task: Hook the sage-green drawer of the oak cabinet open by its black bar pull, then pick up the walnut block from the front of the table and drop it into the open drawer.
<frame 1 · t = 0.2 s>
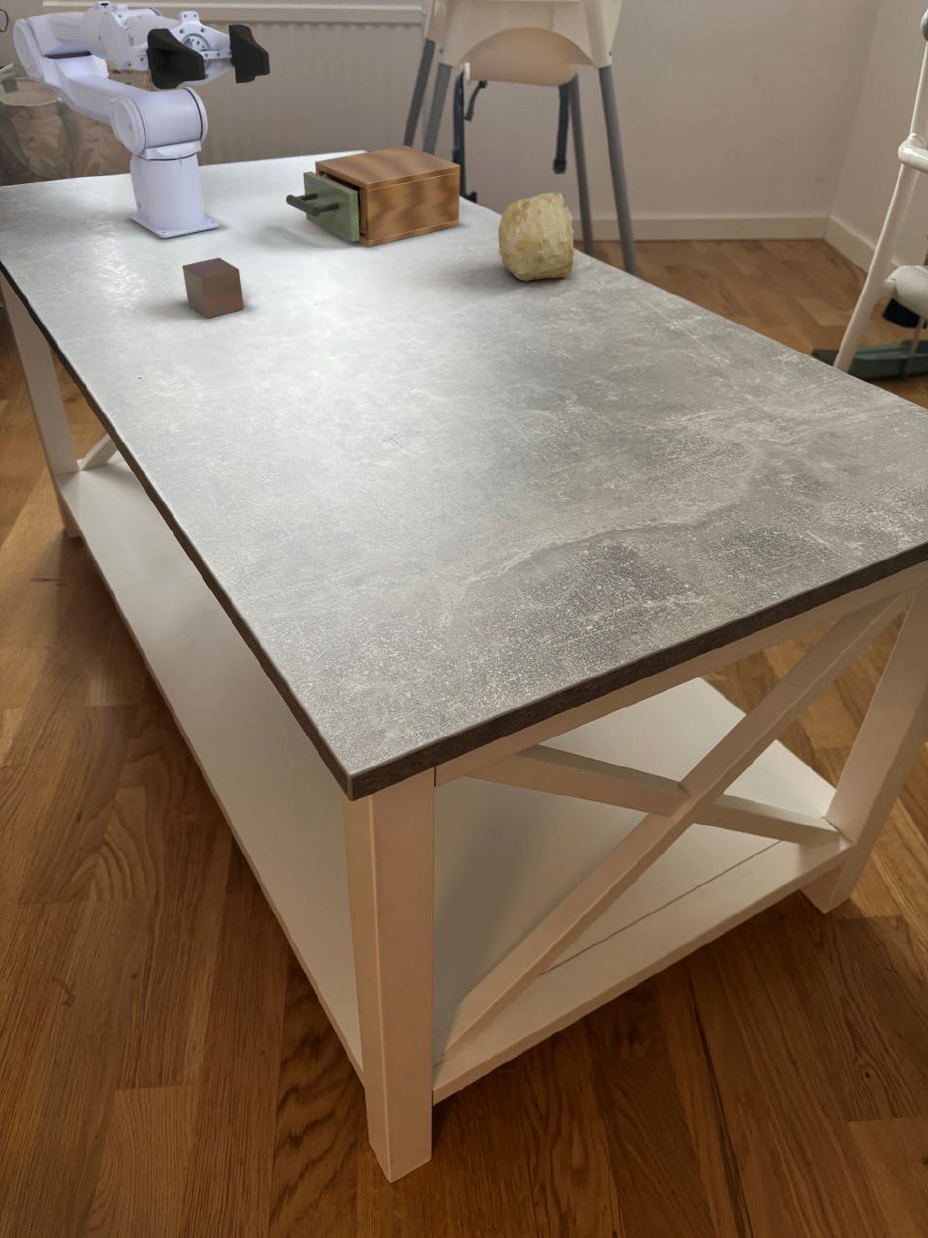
hand: (234, 65, 100), 21 cm above the table, tool horizontal, fingers open, 7 cm apart
drawer: (358, 200, 123), point 4 cm above the table, slide at 1.0 cm
cabinet: (389, 224, 128), on the table
beige lumpy stone: (532, 277, 115), on the table
block: (216, 307, 105), on the table
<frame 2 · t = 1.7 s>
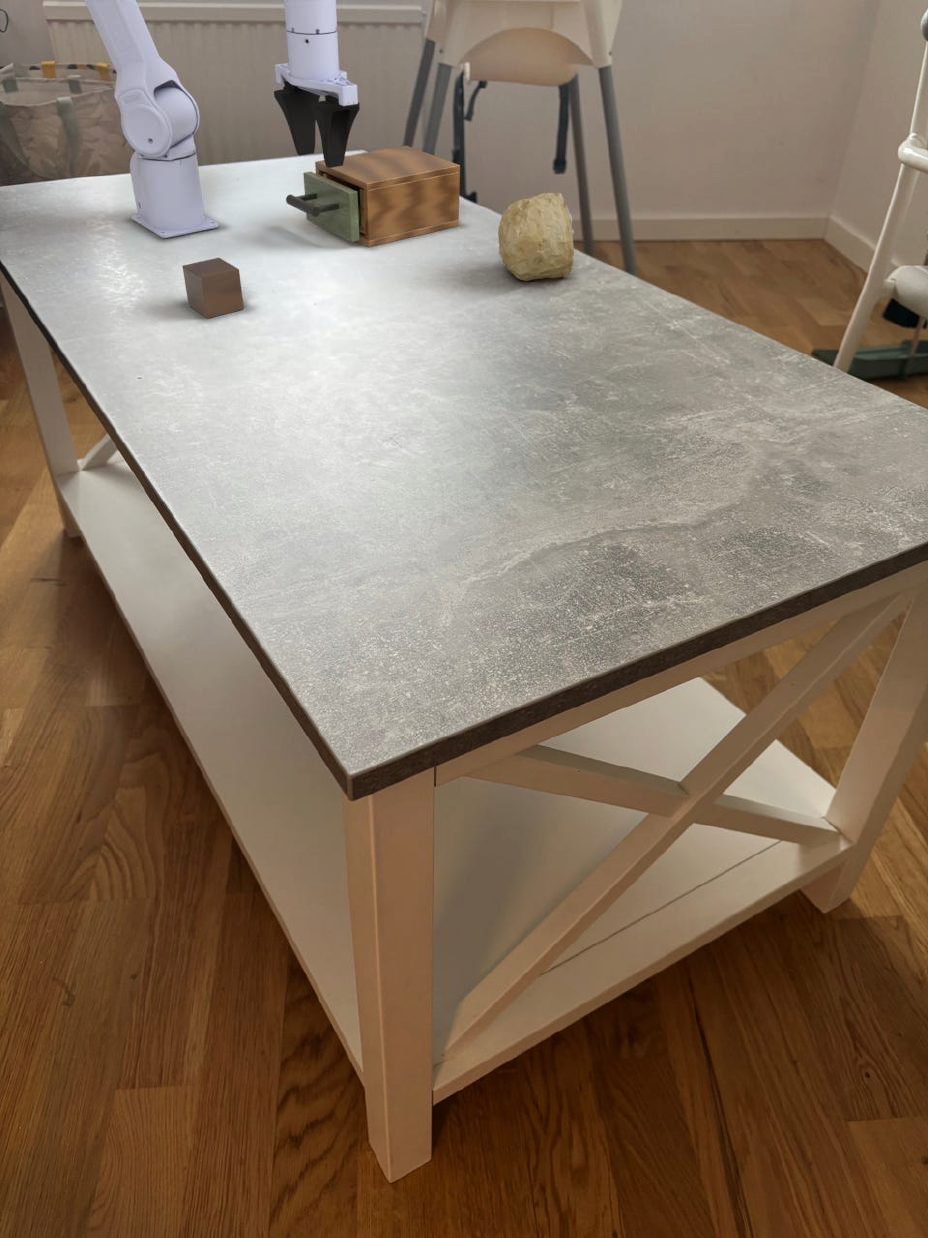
hand: (320, 159, 117), 9 cm above the table, tool pointing down, fingers open, 6 cm apart
nothing on the table moved.
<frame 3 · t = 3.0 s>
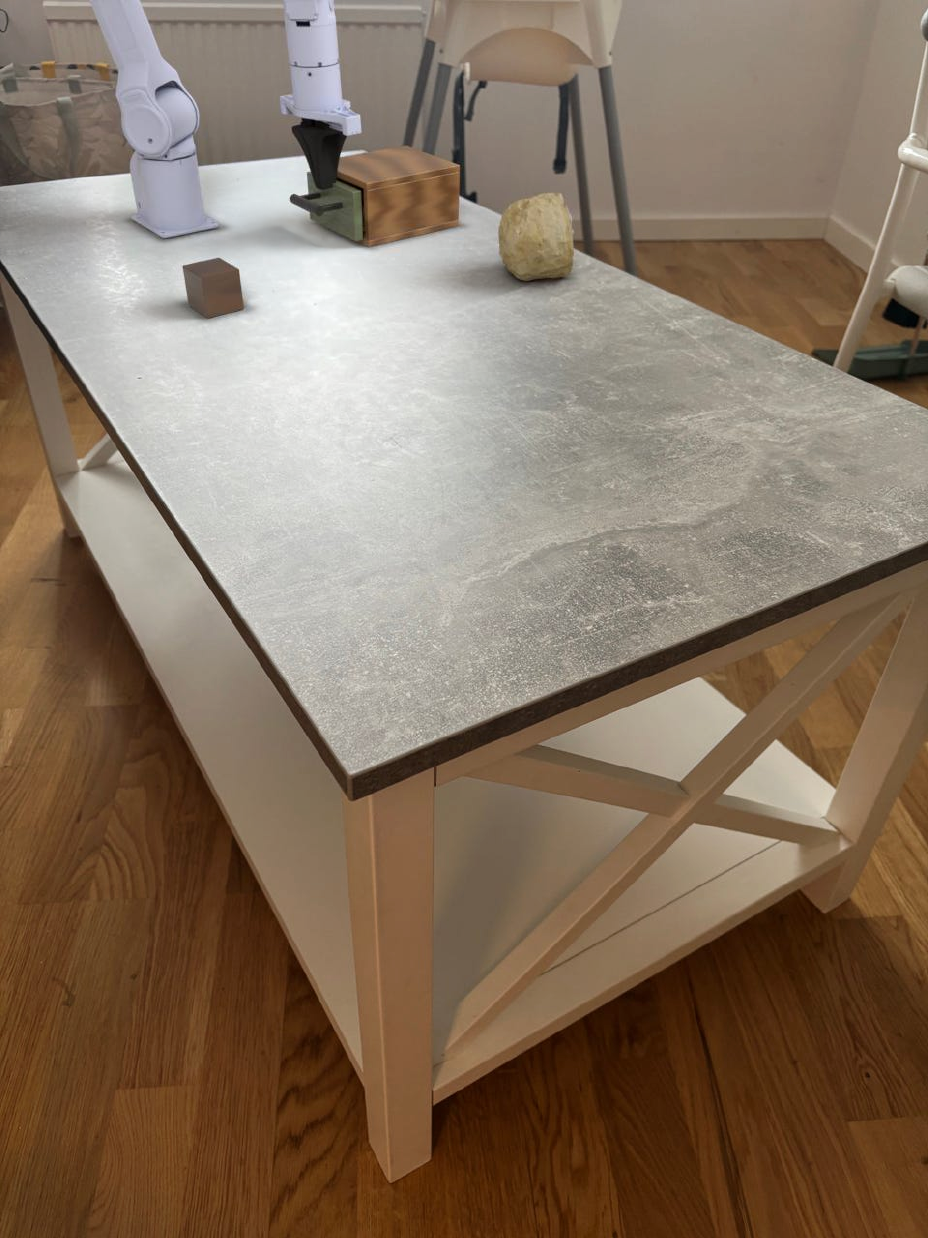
hand: (326, 187, 119), 6 cm above the table, tool pointing down, fingers closed, pressing on drawer
drawer: (361, 199, 123), point 4 cm above the table, slide at 0.5 cm, touching gripper
everything else where it was.
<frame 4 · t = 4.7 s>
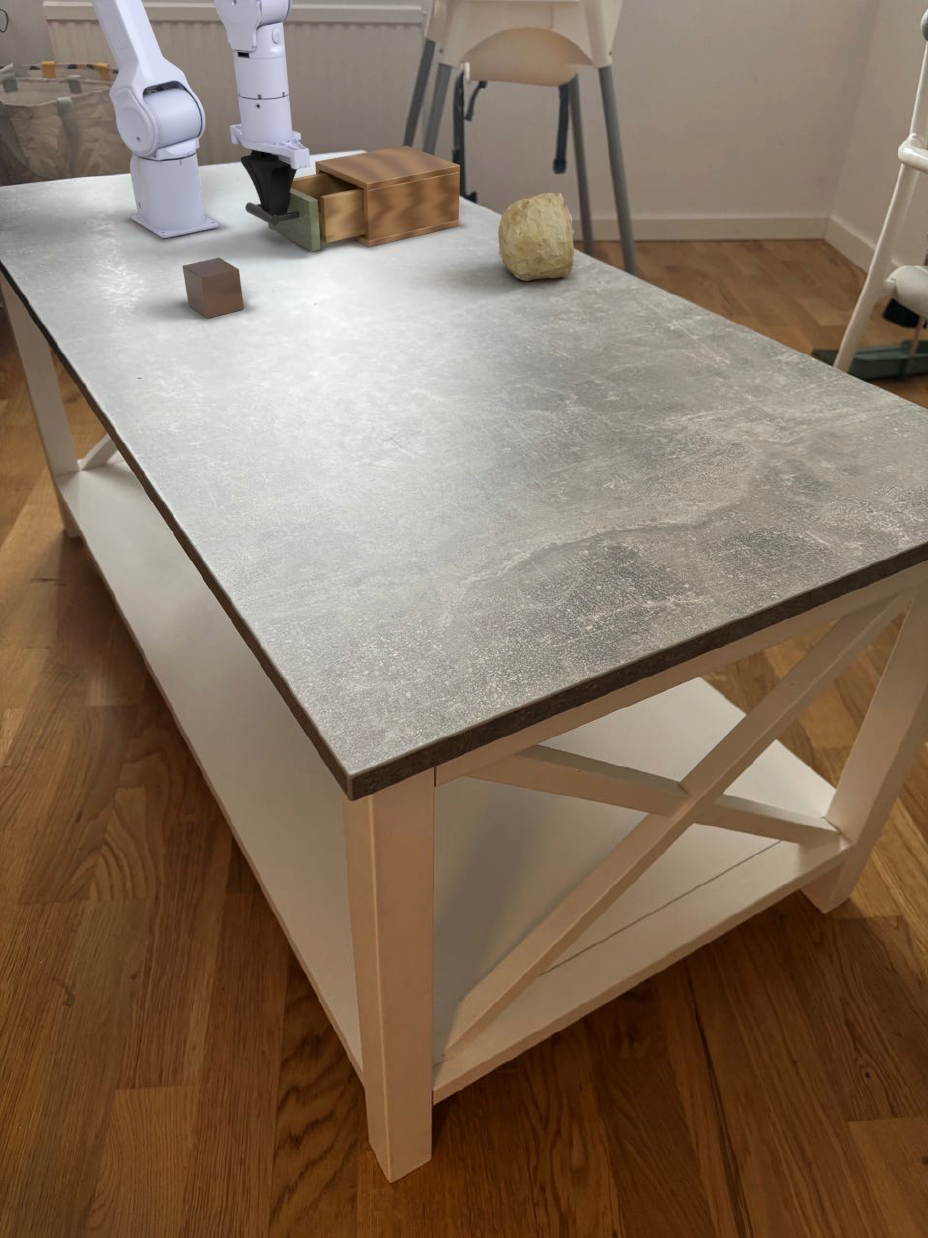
hand: (276, 218, 117), 4 cm above the table, tool pointing down, fingers closed, pressing on drawer
drawer: (320, 208, 120), point 4 cm above the table, slide at 6.7 cm, touching gripper
everything else where it was.
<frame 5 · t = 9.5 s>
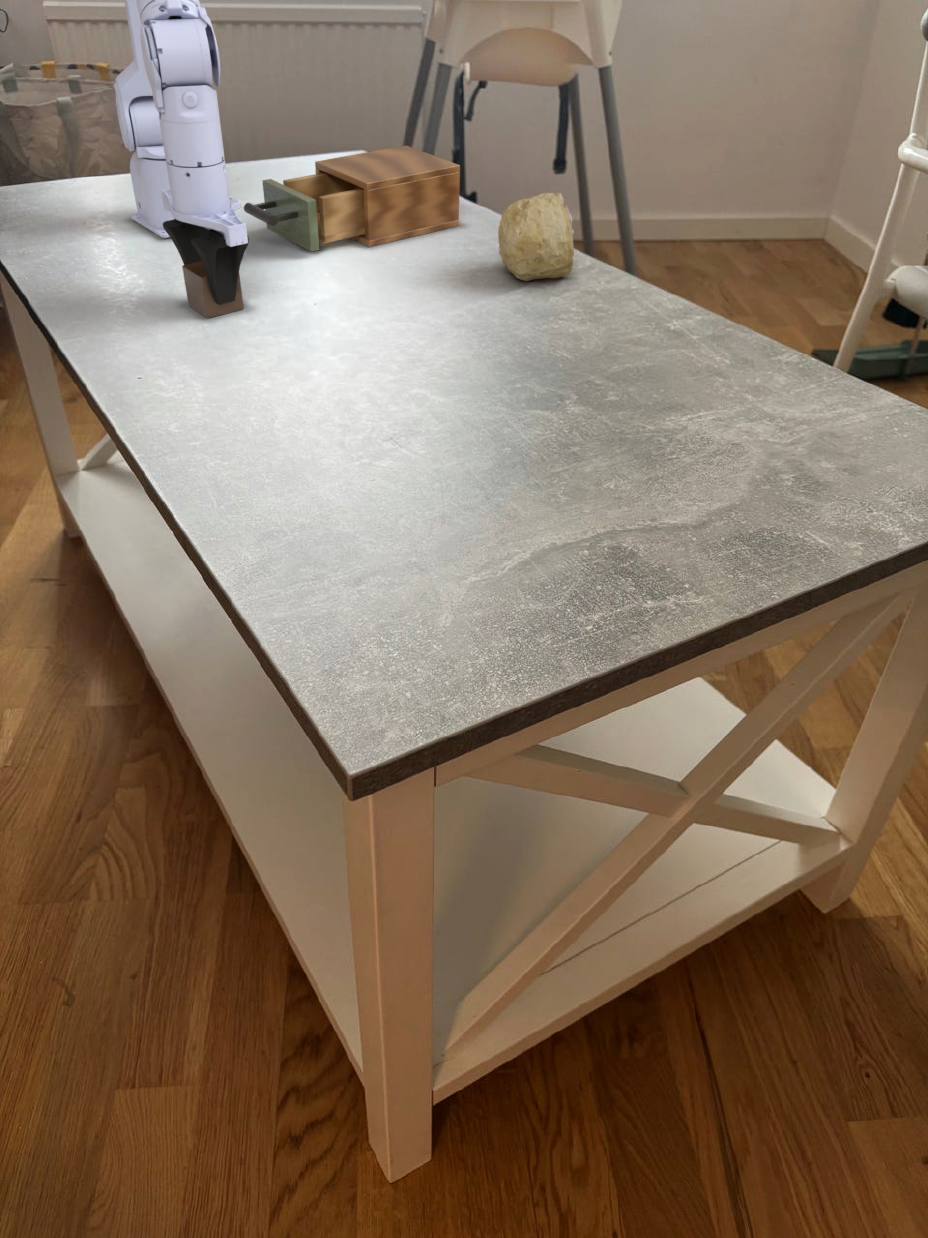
hand: (214, 294, 104), 1 cm above the table, tool pointing down, fingers closed on block, 4 cm apart
drawer: (318, 208, 120), point 4 cm above the table, slide at 6.9 cm
block: (216, 307, 105), on the table, touching gripper
everything else where it was.
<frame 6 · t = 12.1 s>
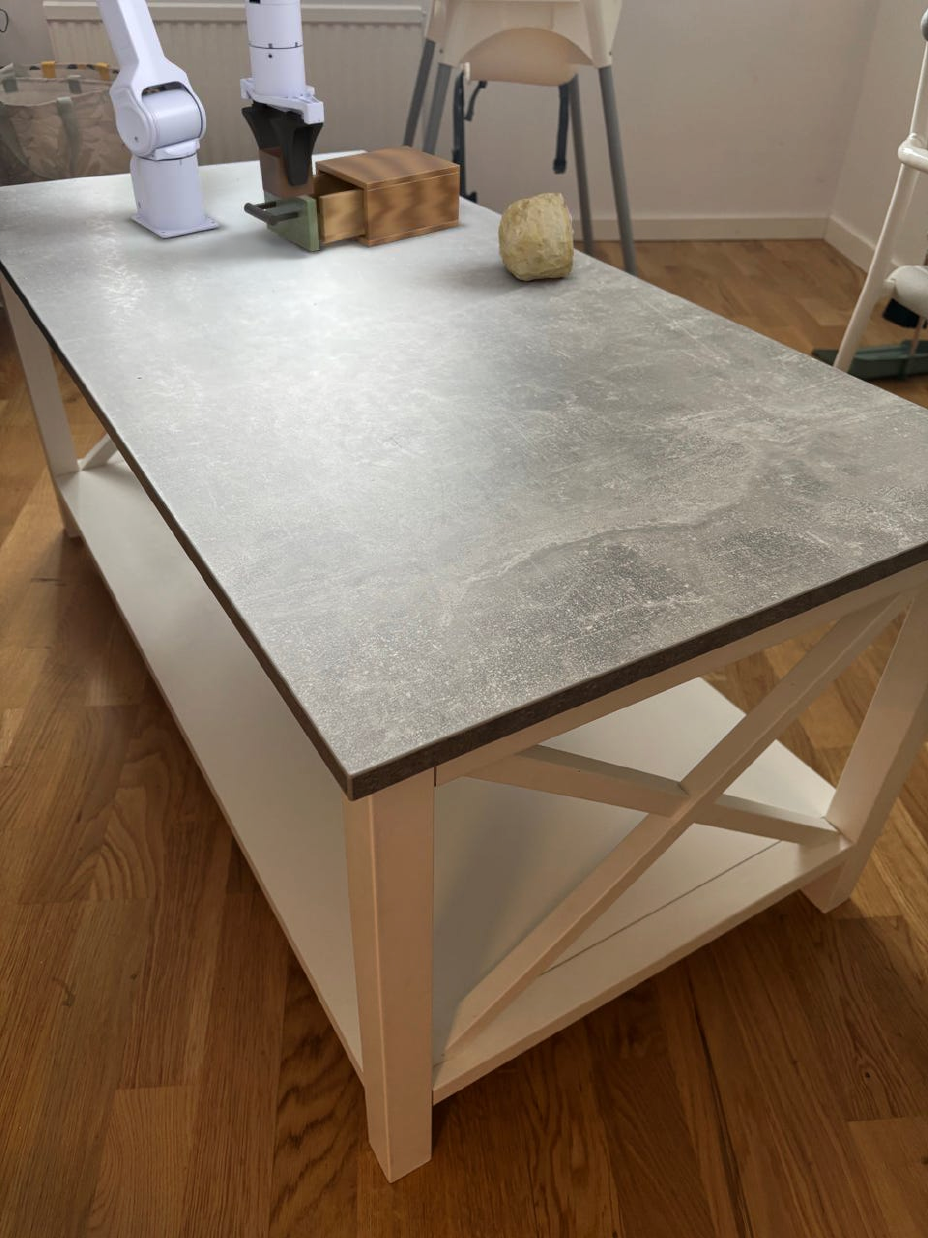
hand: (287, 178, 111), 9 cm above the table, tool pointing down, fingers closed on block, 4 cm apart
block: (288, 191, 112), point 8 cm above the table, touching gripper
everything else where it was.
when the fingers open (5 cm above the table, at t = 14.9 s): block stays where it is, resting on drawer.
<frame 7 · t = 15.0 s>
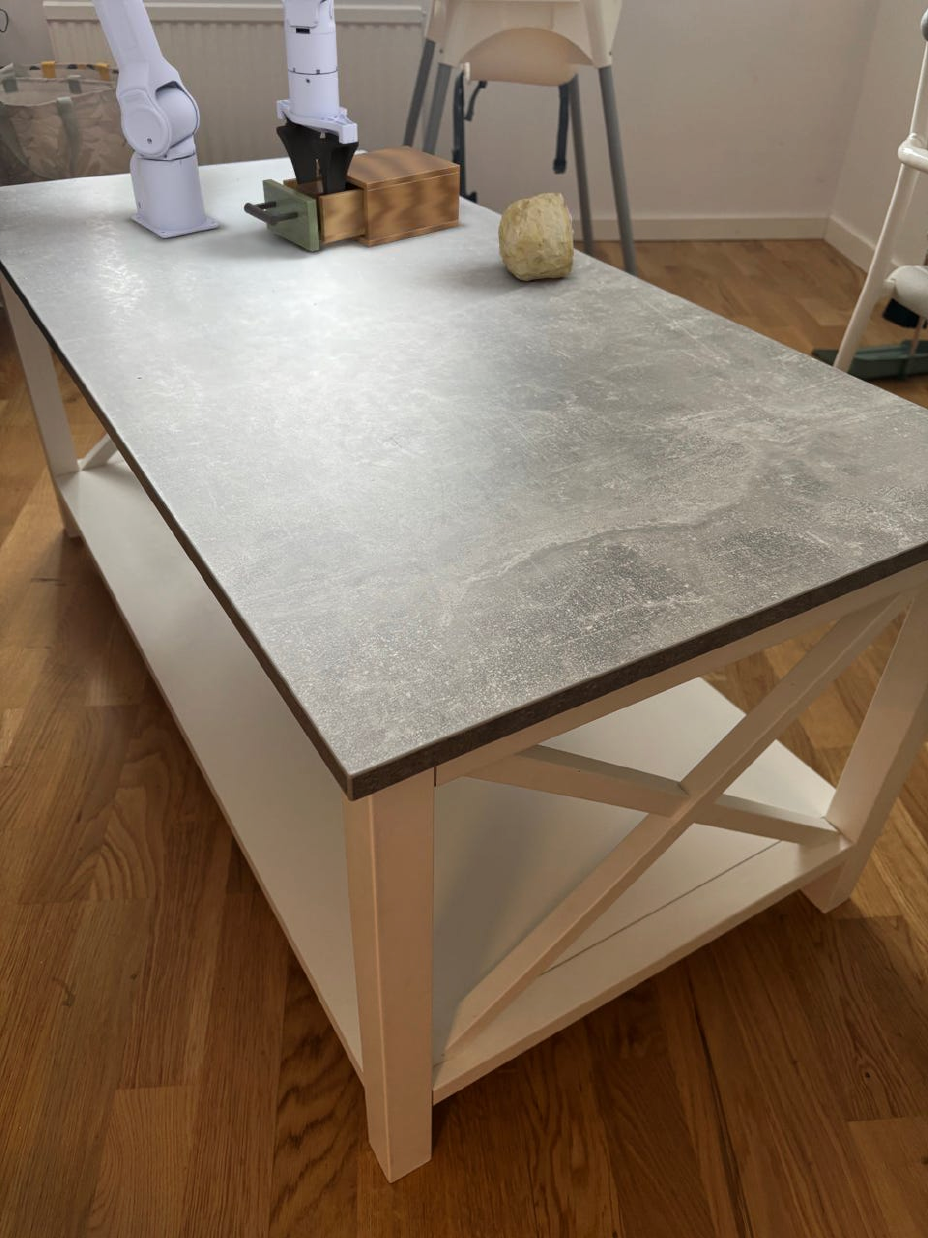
hand: (320, 193, 119), 6 cm above the table, tool pointing down, fingers open, 6 cm apart
drawer: (318, 208, 120), point 4 cm above the table, slide at 6.9 cm, touching block, gripper
block: (322, 222, 121), point 2 cm above the table, touching drawer
everything else where it was.
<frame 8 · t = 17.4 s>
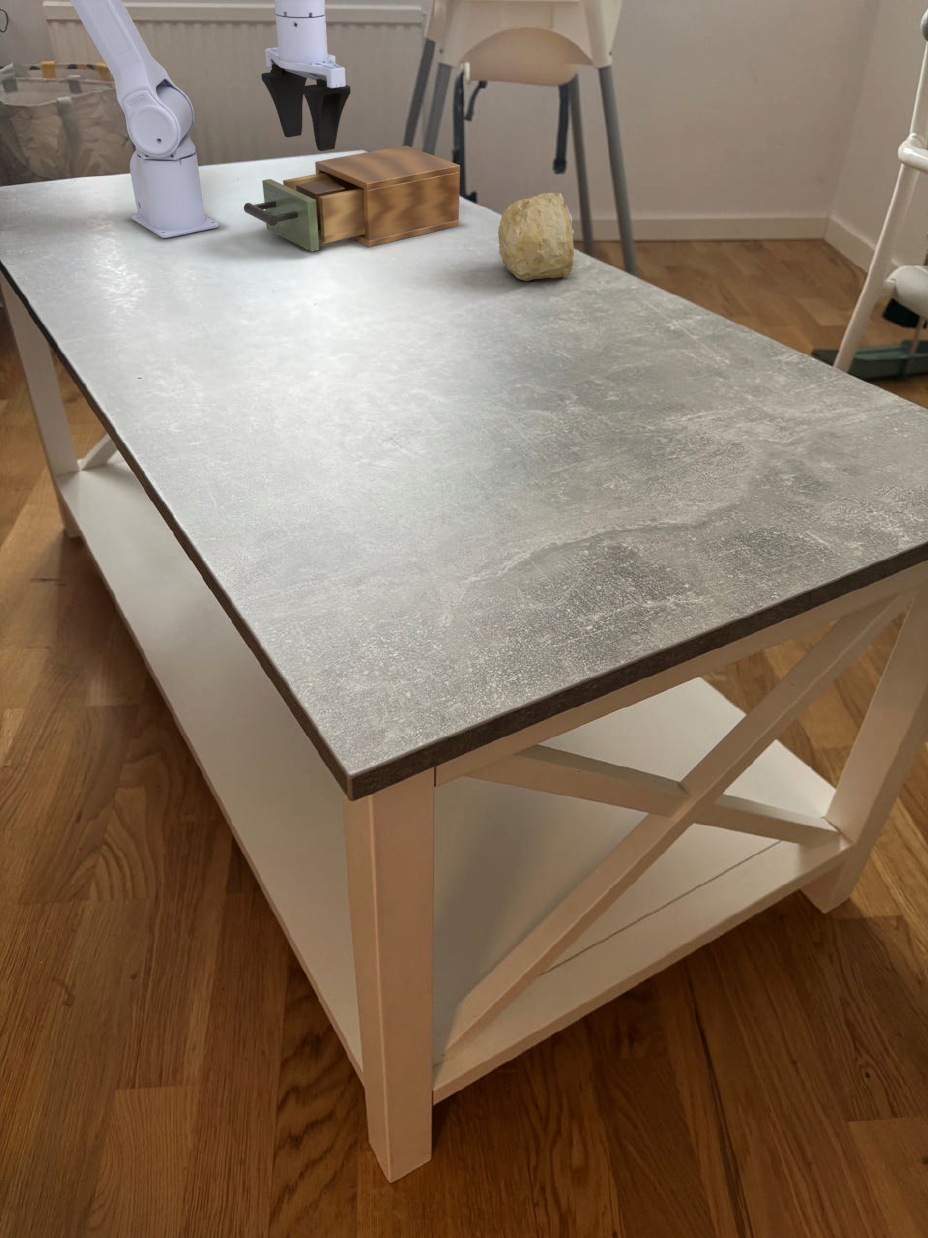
hand: (309, 142, 119), 10 cm above the table, tool pointing down, fingers open, 7 cm apart
drawer: (318, 208, 120), point 4 cm above the table, slide at 6.9 cm, touching block
everything else where it was.
at the end: drawer slide at 6.9 cm; block inside the target area in the drawer (1.8 cm from its centre), point 2.0 cm above the cabinet's base; the gripper is holding nothing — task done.
